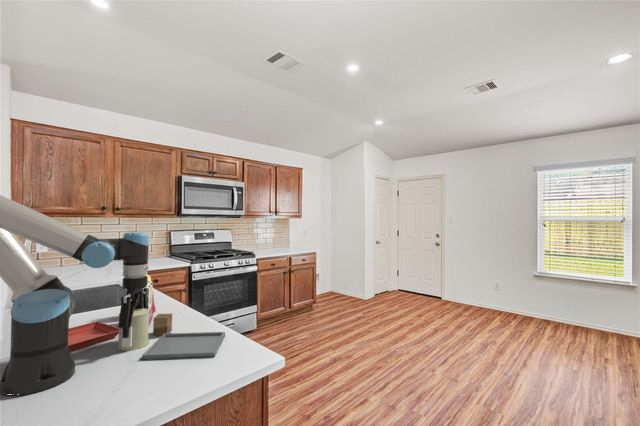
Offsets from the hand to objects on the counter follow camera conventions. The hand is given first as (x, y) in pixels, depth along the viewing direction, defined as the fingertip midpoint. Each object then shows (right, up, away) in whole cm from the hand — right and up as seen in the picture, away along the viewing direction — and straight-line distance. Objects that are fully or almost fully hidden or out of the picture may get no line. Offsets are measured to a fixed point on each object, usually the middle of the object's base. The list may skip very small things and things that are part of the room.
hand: (133, 340), depth 106 cm
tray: (+19, -2, -1) cm, 19 cm away
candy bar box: (-9, -2, +21) cm, 23 cm away
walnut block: (+5, -2, +11) cm, 12 cm away
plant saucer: (-21, -2, +3) cm, 21 cm away
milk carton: (-15, -2, +31) cm, 35 cm away
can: (0, -2, 0) cm, 2 cm away
